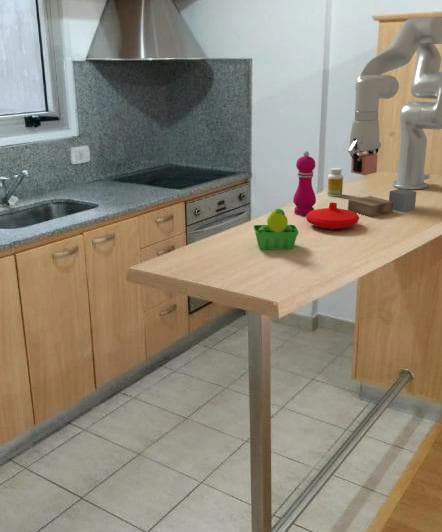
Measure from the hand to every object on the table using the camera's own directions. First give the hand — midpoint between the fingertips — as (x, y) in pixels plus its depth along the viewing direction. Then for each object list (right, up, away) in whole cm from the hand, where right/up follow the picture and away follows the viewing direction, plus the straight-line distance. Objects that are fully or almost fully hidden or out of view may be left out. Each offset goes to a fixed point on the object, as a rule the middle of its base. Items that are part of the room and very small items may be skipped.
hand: (363, 169), depth 205 cm
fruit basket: (-34, -28, -44) cm, 62 cm away
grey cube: (+11, -14, -6) cm, 19 cm away
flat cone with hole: (-16, -21, -25) cm, 36 cm away
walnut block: (0, -16, -10) cm, 18 cm away
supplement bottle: (-7, -7, +14) cm, 17 cm away
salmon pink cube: (0, -1, 0) cm, 1 cm away
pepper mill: (-22, -16, -11) cm, 29 cm away
